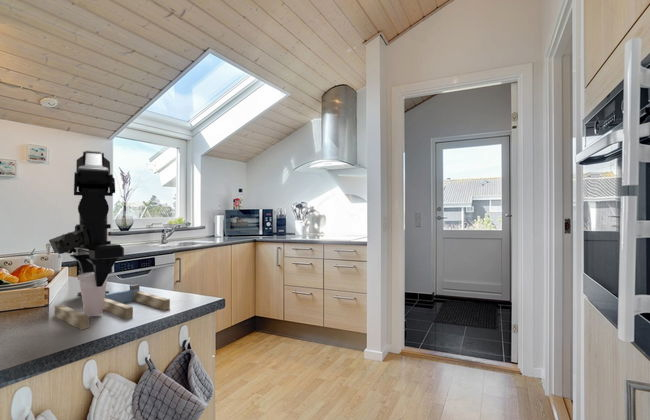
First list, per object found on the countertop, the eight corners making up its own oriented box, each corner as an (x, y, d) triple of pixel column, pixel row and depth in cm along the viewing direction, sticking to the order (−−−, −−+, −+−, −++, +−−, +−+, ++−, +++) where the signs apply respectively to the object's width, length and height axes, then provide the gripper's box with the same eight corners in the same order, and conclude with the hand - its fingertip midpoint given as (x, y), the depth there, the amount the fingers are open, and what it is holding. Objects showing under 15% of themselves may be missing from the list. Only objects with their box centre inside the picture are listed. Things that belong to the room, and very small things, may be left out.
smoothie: (93, 318, 85) (94, 258, 85) (70, 316, 86) (70, 257, 86) (115, 310, 91) (115, 254, 91) (93, 309, 92) (93, 253, 92)
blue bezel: (95, 306, 97) (95, 291, 97) (136, 298, 106) (136, 284, 106) (97, 307, 96) (97, 291, 96) (139, 299, 105) (139, 284, 105)
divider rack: (54, 316, 89) (54, 305, 89) (139, 299, 105) (139, 290, 105) (80, 329, 79) (80, 318, 79) (169, 308, 96) (169, 299, 96)
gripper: (39, 220, 87) (39, 285, 88) (69, 222, 76) (69, 297, 76) (91, 218, 96) (91, 278, 96) (125, 220, 85) (125, 287, 85)
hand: (93, 284), depth 88 cm, fingers closed on smoothie, 6 cm apart
